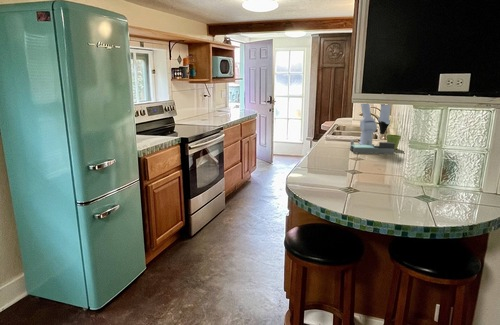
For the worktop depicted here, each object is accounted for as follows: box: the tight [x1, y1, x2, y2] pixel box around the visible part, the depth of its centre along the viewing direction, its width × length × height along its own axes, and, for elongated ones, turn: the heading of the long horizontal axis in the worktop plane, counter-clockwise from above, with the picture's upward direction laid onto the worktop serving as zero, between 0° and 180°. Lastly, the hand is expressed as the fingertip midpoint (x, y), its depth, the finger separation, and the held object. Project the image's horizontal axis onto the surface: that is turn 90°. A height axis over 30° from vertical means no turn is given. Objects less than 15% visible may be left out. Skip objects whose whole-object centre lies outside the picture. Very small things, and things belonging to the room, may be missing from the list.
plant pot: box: [385, 134, 402, 150], centre depth 222 cm, size 9×9×9 cm
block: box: [378, 141, 395, 149], centre depth 212 cm, size 4×8×6 cm, turn 89°
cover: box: [350, 144, 375, 148], centre depth 212 cm, size 8×12×1 cm
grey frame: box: [349, 139, 395, 155], centre depth 213 cm, size 11×24×6 cm, turn 89°
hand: (382, 133), depth 217 cm, fingers closed
